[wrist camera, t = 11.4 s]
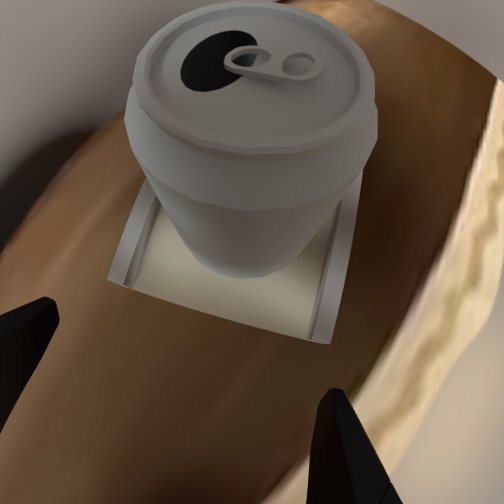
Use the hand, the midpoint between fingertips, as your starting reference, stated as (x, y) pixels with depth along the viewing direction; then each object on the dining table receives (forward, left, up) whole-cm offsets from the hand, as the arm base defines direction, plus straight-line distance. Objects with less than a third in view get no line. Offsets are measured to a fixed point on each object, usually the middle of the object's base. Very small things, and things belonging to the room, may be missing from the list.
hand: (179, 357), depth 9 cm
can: (+7, -2, -8) cm, 11 cm away
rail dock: (+7, -2, -8) cm, 11 cm away
